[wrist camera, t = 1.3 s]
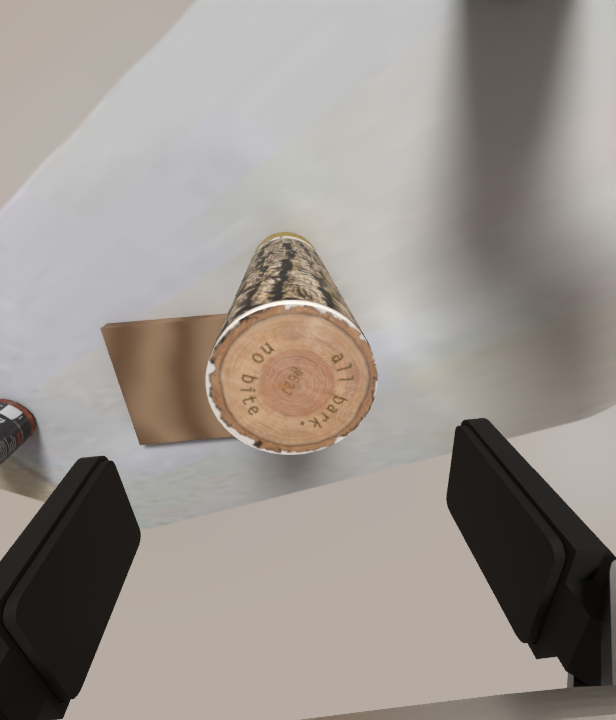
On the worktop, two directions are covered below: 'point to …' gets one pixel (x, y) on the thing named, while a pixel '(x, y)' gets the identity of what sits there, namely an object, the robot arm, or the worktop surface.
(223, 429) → the board
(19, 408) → the supplement bottle
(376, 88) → the worktop surface
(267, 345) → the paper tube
